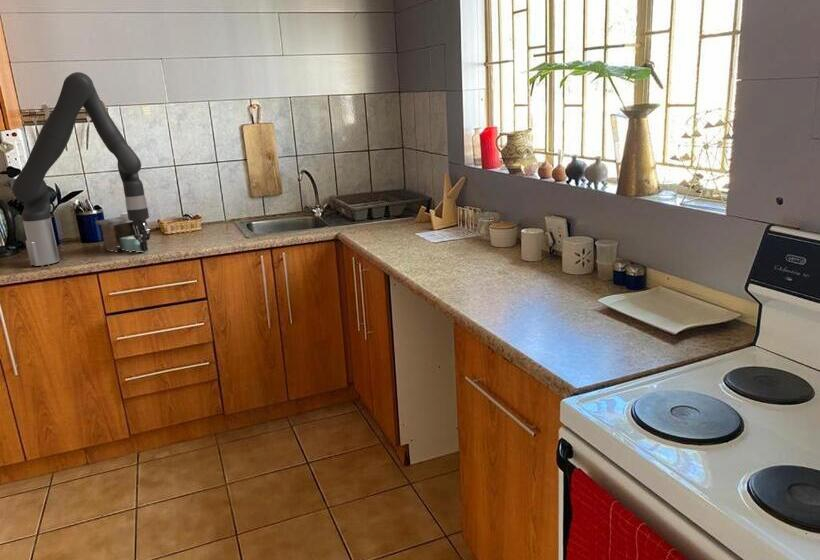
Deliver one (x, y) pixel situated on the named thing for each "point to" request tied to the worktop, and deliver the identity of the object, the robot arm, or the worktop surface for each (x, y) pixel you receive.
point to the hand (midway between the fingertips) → (144, 250)
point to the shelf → (115, 231)
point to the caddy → (130, 243)
